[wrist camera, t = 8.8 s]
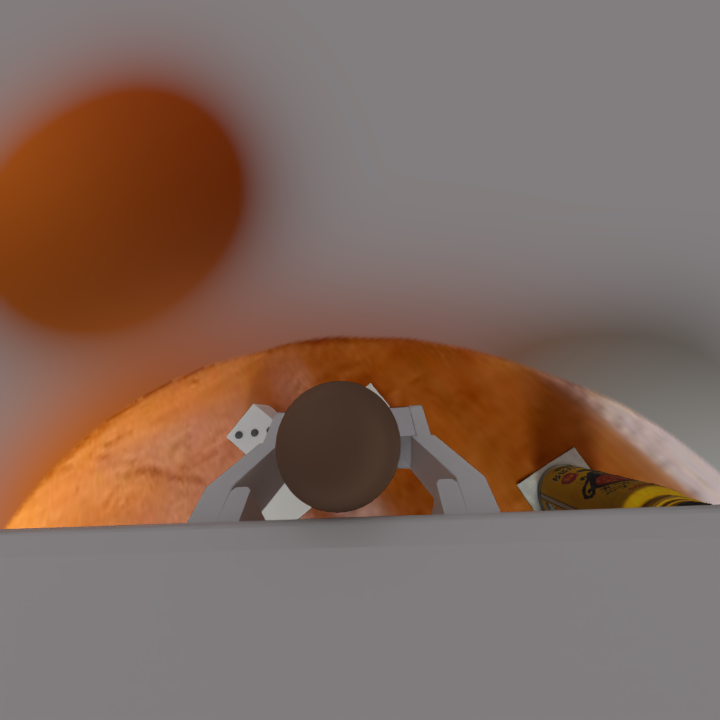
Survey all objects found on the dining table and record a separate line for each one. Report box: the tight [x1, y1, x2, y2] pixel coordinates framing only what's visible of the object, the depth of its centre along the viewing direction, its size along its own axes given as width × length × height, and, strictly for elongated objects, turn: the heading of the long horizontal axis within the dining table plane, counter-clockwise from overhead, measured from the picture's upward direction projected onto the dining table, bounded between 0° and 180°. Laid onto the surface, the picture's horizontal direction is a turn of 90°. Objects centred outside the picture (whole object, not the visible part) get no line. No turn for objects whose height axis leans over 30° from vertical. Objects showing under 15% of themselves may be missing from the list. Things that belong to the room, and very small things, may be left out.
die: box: [227, 404, 278, 454], centre depth 27 cm, size 4×4×4 cm
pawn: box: [275, 381, 401, 513], centre depth 11 cm, size 4×4×11 cm
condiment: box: [517, 447, 712, 511], centre depth 20 cm, size 7×8×12 cm
